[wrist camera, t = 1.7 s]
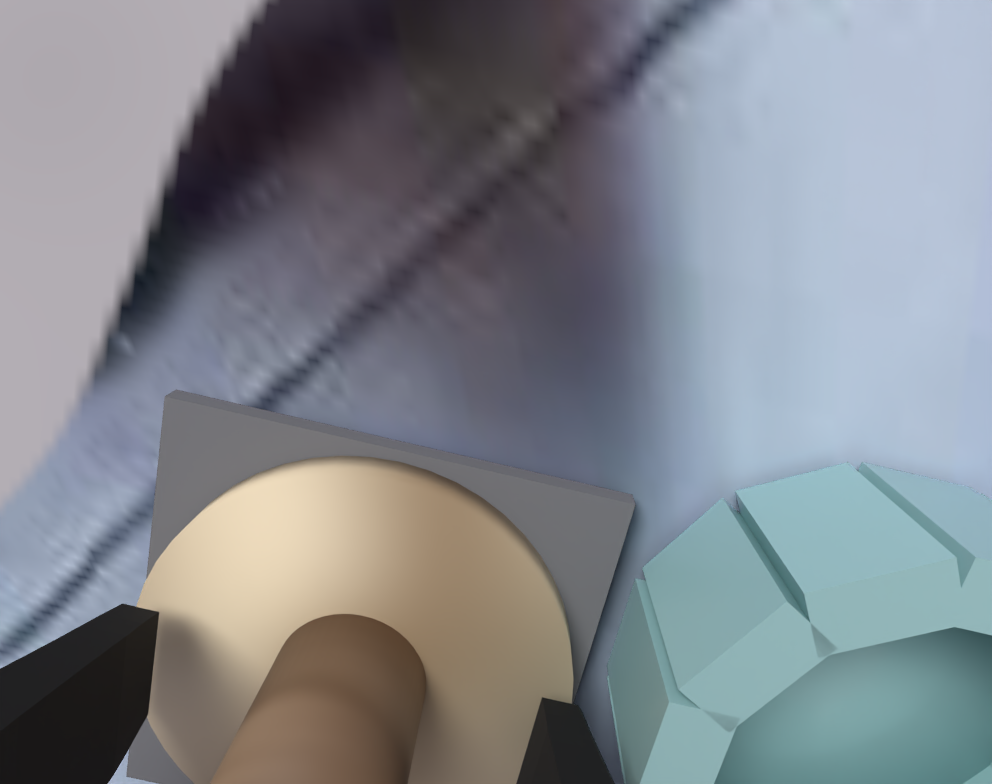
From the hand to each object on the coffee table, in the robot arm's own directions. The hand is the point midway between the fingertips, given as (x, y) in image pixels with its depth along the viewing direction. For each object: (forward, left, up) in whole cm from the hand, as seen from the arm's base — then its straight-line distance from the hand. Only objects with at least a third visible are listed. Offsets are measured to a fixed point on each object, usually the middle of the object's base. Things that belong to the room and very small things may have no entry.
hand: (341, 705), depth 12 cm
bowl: (+8, +1, -2) cm, 9 cm away
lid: (0, 0, -1) cm, 1 cm away
